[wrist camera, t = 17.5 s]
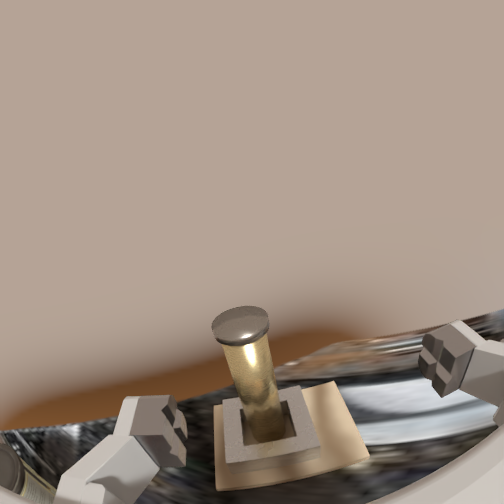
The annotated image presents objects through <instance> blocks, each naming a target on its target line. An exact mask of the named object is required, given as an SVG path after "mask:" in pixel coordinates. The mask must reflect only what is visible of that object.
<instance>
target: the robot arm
mask: <svg viewBox="0 0 504 504" xmlns="http://www.w3.org/2000/svg"><path fill="white" fill-rule="evenodd" d="M422 345H423V347H424V348H423V349H422V351H421V352H420V354H419V359H418V364H419V369H420V371H421V373H422V375H423V376H424V377H425V378H426V379H429V380H432V387H433V388H434V389H435V391H436V392H437V393H438V394H439V395H440V397H441V398H442V397H444V396H446V395H448V394H450V393H452V392H454V391H455V390H457V389H459V388H460V389H459V390H462V391H464V392H466V393H468V394H470V395H473V396H475V397H477V398H479V399H482V400H484V401H486V402H488V403H491V404H493V405H495V406H498V407H499V408H498V409H497V411H496V413H495V414H494V416H493V420H494V422H495V423H496V424H497V425H498V427H499V428H498V429H497V430H495V431H494V432H493V433H492V434H490V435H489V436H488V437H486V438H485V439H484V440H482V441H481V442H480V443H478V444H477V445H476V446H474V447H473V448H471V449H470V450H468V451H467V452H466V453H464V454H463V455H461V456H460V457H458V458H456V459H455V460H453V461H452V462H450V463H449V464H447V465H445V466H444V467H442V468H440V469H439V470H437V471H435V472H433V473H432V474H430V475H428V476H426V477H424V478H422V479H420V480H418V481H417V482H415V483H413V484H411V485H409V486H406V487H404V488H402V489H400V490H398V491H396V492H394V493H391V494H389V495H387V496H384V497H382V498H379V499H377V500H374V501H372V502H369V503H367V504H504V339H502V340H501V341H500V342H497V341H493V340H487V341H486V340H485V339H483V338H482V337H481V336H480V335H478V334H477V333H476V332H475V331H474V330H472V329H471V328H470V327H469V326H467V325H466V324H465V323H464V322H462V321H461V320H455V321H453V322H451V323H449V324H447V325H444V326H442V327H440V328H438V329H435V330H433V331H431V332H429V333H426V334H425V335H424V337H423V340H422ZM176 408H177V402H176V400H175V398H174V396H172V395H160V396H159V395H157V396H134V397H133V396H131V397H130V396H127V397H126V398H125V399H124V401H123V404H122V407H121V410H120V413H119V416H118V420H117V423H116V426H115V430H114V433H113V435H108V436H107V437H106V438H105V439H104V440H102V441H101V442H100V443H99V444H98V445H97V446H96V447H94V448H93V449H92V450H91V451H90V452H89V453H87V454H86V455H85V456H84V457H83V458H82V459H80V460H79V461H78V462H77V463H76V464H74V465H73V466H72V467H71V468H70V469H69V470H67V471H66V472H65V473H64V474H62V476H61V479H60V482H59V485H58V488H57V492H56V495H55V498H54V502H53V504H133V503H134V502H135V501H136V500H137V498H138V497H139V496H140V494H141V493H142V492H143V490H144V489H145V488H146V487H147V485H148V484H149V483H150V481H151V480H152V479H153V477H154V476H155V475H156V473H157V472H158V471H159V469H160V468H159V467H185V464H186V449H185V447H184V445H183V443H184V442H185V440H186V439H187V425H186V421H185V418H184V415H183V413H182V412H181V411H179V410H178V409H176ZM0 504H40V503H37V502H35V501H32V500H30V499H27V498H25V497H23V496H21V495H18V494H16V493H14V492H12V491H10V490H8V489H6V488H4V487H2V486H0Z"/></svg>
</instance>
